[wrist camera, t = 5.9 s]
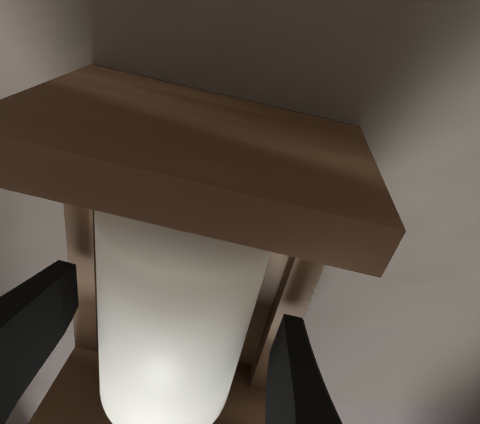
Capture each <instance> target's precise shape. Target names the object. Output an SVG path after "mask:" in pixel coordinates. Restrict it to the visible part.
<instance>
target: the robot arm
mask: <svg viewBox="0 0 480 424" xmlns="http://www.w3.org/2000/svg"><path fill="white" fill-rule="evenodd" d="M78 307H79V301H78V286H77V271H76V264H73V263H68V262H64V261H60V260H58V261H56V262H55V263H53V264H52V265H50V266H48V267H47V268H45V269H44V270H42V271H41V272H39V273H37V274H36V275H34V276H33V277H31V278H30V279H28V280H27V281H25V282H23V283H22V284H20V285H19V286H17V287H15V288H14V289H12V290H11V291H9V292H7V293H6V294H4V295H2V296H1V297H0V424H5V422H6V420H7V419H8V417H9V415H10V413H11V412H12V410H13V408H14V406H15V405H16V403H17V402H18V400H19V399H20V397H21V396H22V394H23V393H24V391H25V390H26V388H27V387H28V385H29V384H30V383H31V381H32V380H33V378H34V377H35V375H36V374H37V373H38V371H39V370H40V368H41V367H42V365H43V364H44V362H45V361H46V360H47V358H48V357H49V355H50V354H51V352H52V351H53V350H54V348H55V347H56V345H57V344H58V342H59V341H60V339H61V338H62V336H63V335H64V333H65V332H66V330H67V328H68V326H69V324H70V322H71V320H72V319H73V317H74V315H75V313H76V311H77V309H78ZM265 424H342V422H341V420H340V418H339V415H338V413H337V411H336V409H335V407H334V404H333V402H332V400H331V398H330V395H329V393H328V391H327V388H326V386H325V383H324V381H323V378H322V376H321V373H320V370H319V368H318V365H317V362H316V359H315V357H314V354H313V351H312V348H311V345H310V341H309V338H308V335H307V331H306V327H305V324H304V320H303V319H302V318H301V317H296V316H292V315H288V314H284V315H283V317H282V320H281V323H280V325H279V328H278V331H277V333H276V336H275V339H274V342H273V344H272V347H271V350H270V354H269V361H268V369H267V378H266V409H265Z"/></svg>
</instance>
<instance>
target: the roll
mask: <svg viewBox="0 0 480 424" xmlns="http://www.w3.org/2000/svg"><path fill="white" fill-rule="evenodd" d="M94 223H95V254H96V286H97V317H98V349H99V380H100V397H101V402H102V405H103V409H104V411H105V413H106V415H107V417H108V418H109V420H110V421H111V422H112V424H213V423H214V421H215V420H216V419H217V418H218V416H219V415H220V413H221V411H222V410H223V408H224V405H225V403H226V400H227V397H228V394H229V390H230V387H231V384H232V380H233V377H234V374H235V370H236V367H237V364H238V360H239V357H240V354H241V350H242V347H243V344H244V341H245V337H246V334H247V331H248V327H249V324H250V321H251V317H252V314H253V311H254V307H255V304H256V301H257V297H258V294H259V291H260V288H261V284H262V281H263V278H264V274H265V271H266V268H267V264H268V261H269V258H270V254H271V252H270V251H266V250H261V249H257V248H253V247H249V246H244V245H240V244H236V243H232V242H227V241H223V240H219V239H215V238H210V237H206V236H202V235H198V234H193V233H189V232H185V231H181V230H176V229H172V228H168V227H164V226H159V225H155V224H151V223H147V222H142V221H138V220H134V219H130V218H125V217H121V216H117V215H113V214H108V213H104V212H100V211H96V210H94Z"/></svg>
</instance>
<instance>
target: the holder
mask: <svg viewBox="0 0 480 424" xmlns="http://www.w3.org/2000/svg"><path fill="white" fill-rule="evenodd" d="M0 188H2V189H6V190H11V191H15V192H19V193H23V194H28V195H32V196H36V197H40V198H45V199H49V200H53V201H57V202H62V203H64V215H65V227H66V239H67V252H68V263H73V264H76V271H77V286H78V301H79V307H78V309H77V311H76V313H75V315H74V317H73V325H74V337H75V348H74V350H73V351H72V353H71V354H70V356H69V358H68V359H67V361H66V363H65V364H64V366H63V368H62V369H61V371H60V372H59V374H58V376H57V377H56V379H55V381H54V382H53V384H52V386H51V387H50V389H49V390H48V392H47V394H46V395H45V397H44V399H43V400H42V402H41V404H40V405H39V407H38V408H37V410H36V412H35V413H34V415H33V417H32V418H31V420H30V422H29V423H28V424H112V422H111V421H110V420H109V418H108V417H107V415H106V413H105V411H104V409H103V405H102V402H101V397H100V380H99V349H98V317H97V286H96V254H95V223H94V210H96V211H100V212H104V213H108V214H113V215H117V216H121V217H125V218H130V219H134V220H138V221H142V222H147V223H151V224H155V225H159V226H164V227H168V228H172V229H176V230H181V231H185V232H189V233H193V234H198V235H202V236H206V237H210V238H215V239H219V240H223V241H227V242H232V243H236V244H240V245H244V246H249V247H253V248H257V249H261V250H266V251H270V252H271V254H270V258H269V261H268V264H267V268H266V271H265V274H264V278H263V281H262V284H261V288H260V291H259V294H258V297H257V301H256V304H255V307H254V311H253V314H252V317H251V321H250V324H249V327H248V331H247V334H246V337H245V341H244V344H243V347H242V350H241V354H240V357H239V360H238V364H237V367H236V370H235V374H234V377H233V380H232V384H231V387H230V390H229V394H228V397H227V400H226V403H225V405H224V408H223V410H222V411H221V413H220V415H219V416H218V418H217V419H216V420H215V421H214V423H213V424H265V409H266V378H267V369H268V361H269V354H270V350H271V347H272V344H273V342H274V339H275V336H276V333H277V331H278V328H279V325H280V323H281V320H282V317H283V315H284V314H288V315H292V316H296V317H301V318H303V315H304V313H305V311H306V308H307V306H308V303H309V301H310V299H311V296H312V294H313V292H314V289H315V287H316V284H317V282H318V280H319V277H320V275H321V272H322V270H323V268H324V265H329V266H333V267H338V268H342V269H346V270H350V271H355V272H359V273H363V274H367V275H372V276H376V277H380V278H381V276H382V274H383V273H384V271H385V269H386V267H387V265H388V263H389V261H390V260H391V258H392V256H393V254H394V252H395V250H396V248H397V247H398V245H399V243H400V241H401V239H402V237H403V236H404V234H405V232H406V230H405V228H404V226H403V223H402V221H401V219H400V217H399V214H398V212H397V210H396V208H395V205H394V203H393V201H392V199H391V196H390V194H389V192H388V190H387V187H386V185H385V183H384V180H383V178H382V176H381V174H380V171H379V169H378V167H377V165H376V162H375V160H374V158H373V156H372V153H371V151H370V149H369V147H368V144H367V142H366V140H365V138H364V135H363V133H362V131H361V129H360V127H358V126H354V125H350V124H345V123H341V122H337V121H332V120H328V119H324V118H319V117H315V116H311V115H307V114H302V113H298V112H294V111H289V110H285V109H281V108H276V107H272V106H268V105H263V104H259V103H255V102H251V101H246V100H242V99H238V98H233V97H229V96H225V95H220V94H216V93H212V92H207V91H203V90H199V89H194V88H190V87H186V86H182V85H177V84H173V83H169V82H164V81H160V80H156V79H151V78H147V77H143V76H138V75H134V74H130V73H125V72H121V71H117V70H113V69H108V68H104V67H100V66H95V65H88V66H86V67H83V68H81V69H78V70H75V71H73V72H70V73H68V74H65V75H63V76H60V77H57V78H55V79H52V80H50V81H47V82H45V83H42V84H39V85H37V86H34V87H32V88H29V89H27V90H24V91H21V92H19V93H16V94H14V95H11V96H9V97H6V98H3V99H1V100H0Z"/></svg>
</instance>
